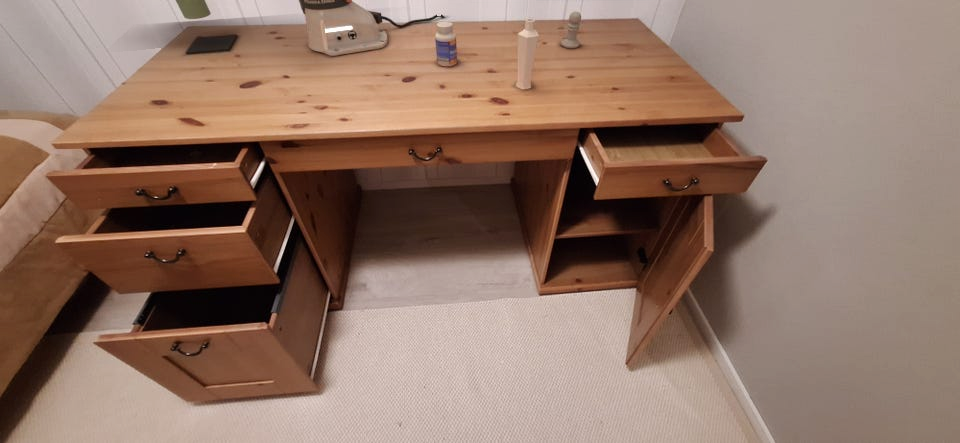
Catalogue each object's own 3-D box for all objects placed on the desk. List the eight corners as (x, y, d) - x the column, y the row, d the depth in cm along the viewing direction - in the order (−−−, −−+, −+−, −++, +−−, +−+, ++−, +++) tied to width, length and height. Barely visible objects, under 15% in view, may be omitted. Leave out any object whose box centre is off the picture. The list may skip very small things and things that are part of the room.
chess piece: (582, 44, 111) (588, 11, 104) (574, 50, 108) (580, 16, 101) (565, 40, 113) (571, 7, 106) (557, 46, 110) (562, 12, 103)
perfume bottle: (512, 81, 94) (517, 16, 83) (530, 81, 94) (537, 16, 83) (515, 90, 91) (520, 24, 80) (533, 90, 91) (541, 23, 80)
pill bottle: (454, 67, 99) (452, 28, 92) (434, 66, 100) (431, 27, 93) (459, 59, 103) (457, 21, 96) (440, 57, 104) (437, 19, 97)
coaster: (237, 36, 113) (236, 34, 113) (229, 51, 106) (228, 48, 105) (197, 39, 112) (196, 37, 111) (186, 54, 104) (185, 52, 104)
